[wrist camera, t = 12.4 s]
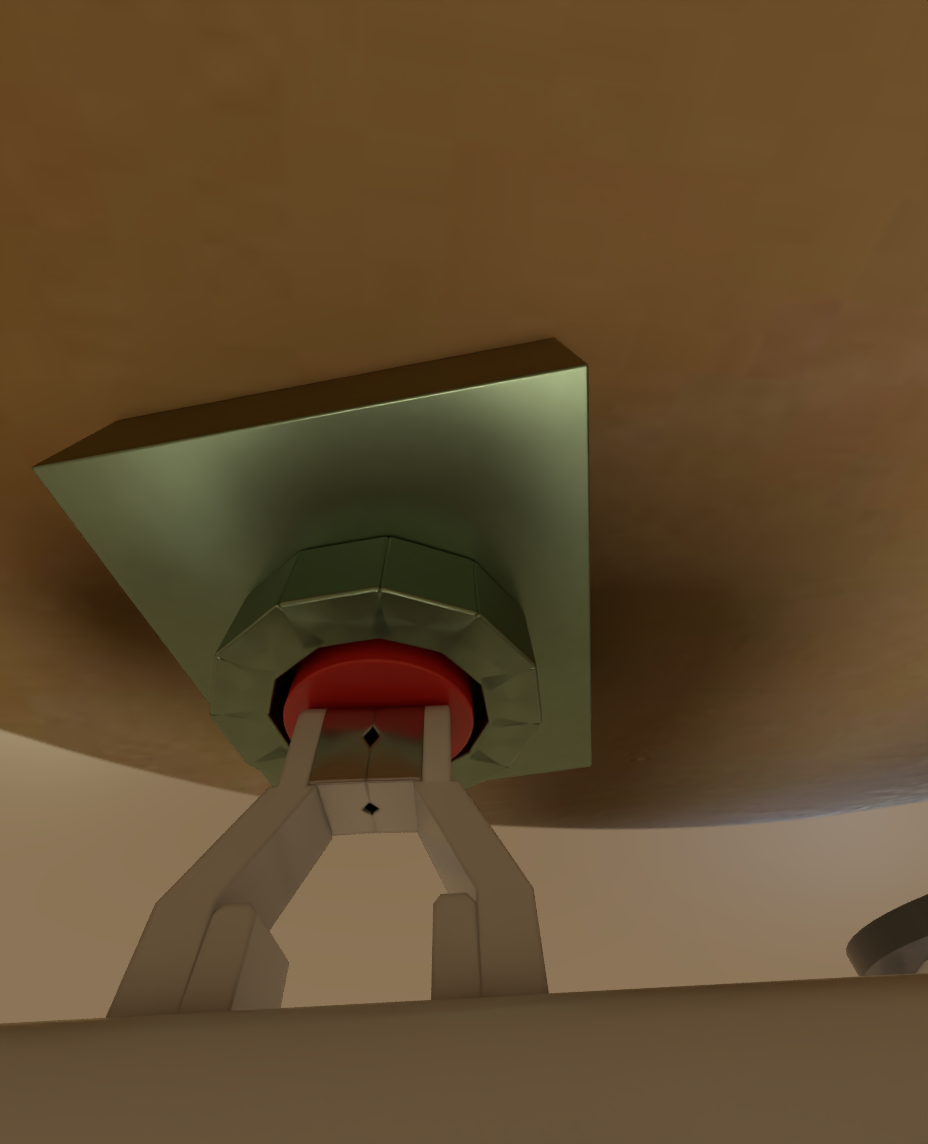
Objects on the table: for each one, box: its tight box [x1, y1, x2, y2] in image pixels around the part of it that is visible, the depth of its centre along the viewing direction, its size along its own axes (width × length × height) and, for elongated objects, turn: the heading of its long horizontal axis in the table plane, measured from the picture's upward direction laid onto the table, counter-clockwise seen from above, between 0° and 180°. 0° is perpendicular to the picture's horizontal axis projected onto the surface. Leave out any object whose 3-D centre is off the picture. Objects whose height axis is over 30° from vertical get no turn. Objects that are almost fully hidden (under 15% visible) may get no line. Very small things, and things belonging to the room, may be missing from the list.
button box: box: [32, 338, 592, 790], centre depth 12 cm, size 12×10×4 cm
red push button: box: [283, 639, 474, 759], centre depth 10 cm, size 4×4×2 cm
